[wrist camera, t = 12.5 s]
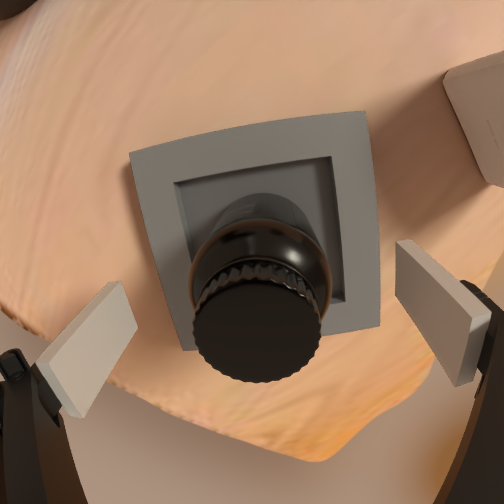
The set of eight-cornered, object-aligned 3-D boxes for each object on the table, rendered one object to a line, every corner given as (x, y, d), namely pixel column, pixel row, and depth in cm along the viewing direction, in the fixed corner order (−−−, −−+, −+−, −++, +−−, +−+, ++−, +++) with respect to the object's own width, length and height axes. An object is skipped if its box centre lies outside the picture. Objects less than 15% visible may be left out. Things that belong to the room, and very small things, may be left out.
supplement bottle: (213, 277, 24) (169, 389, 12) (219, 186, 21) (162, 236, 10) (304, 287, 24) (326, 405, 12) (318, 197, 21) (369, 258, 10)
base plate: (189, 336, 27) (183, 350, 25) (140, 151, 22) (128, 152, 20) (372, 312, 25) (379, 326, 23) (356, 113, 20) (365, 110, 18)
